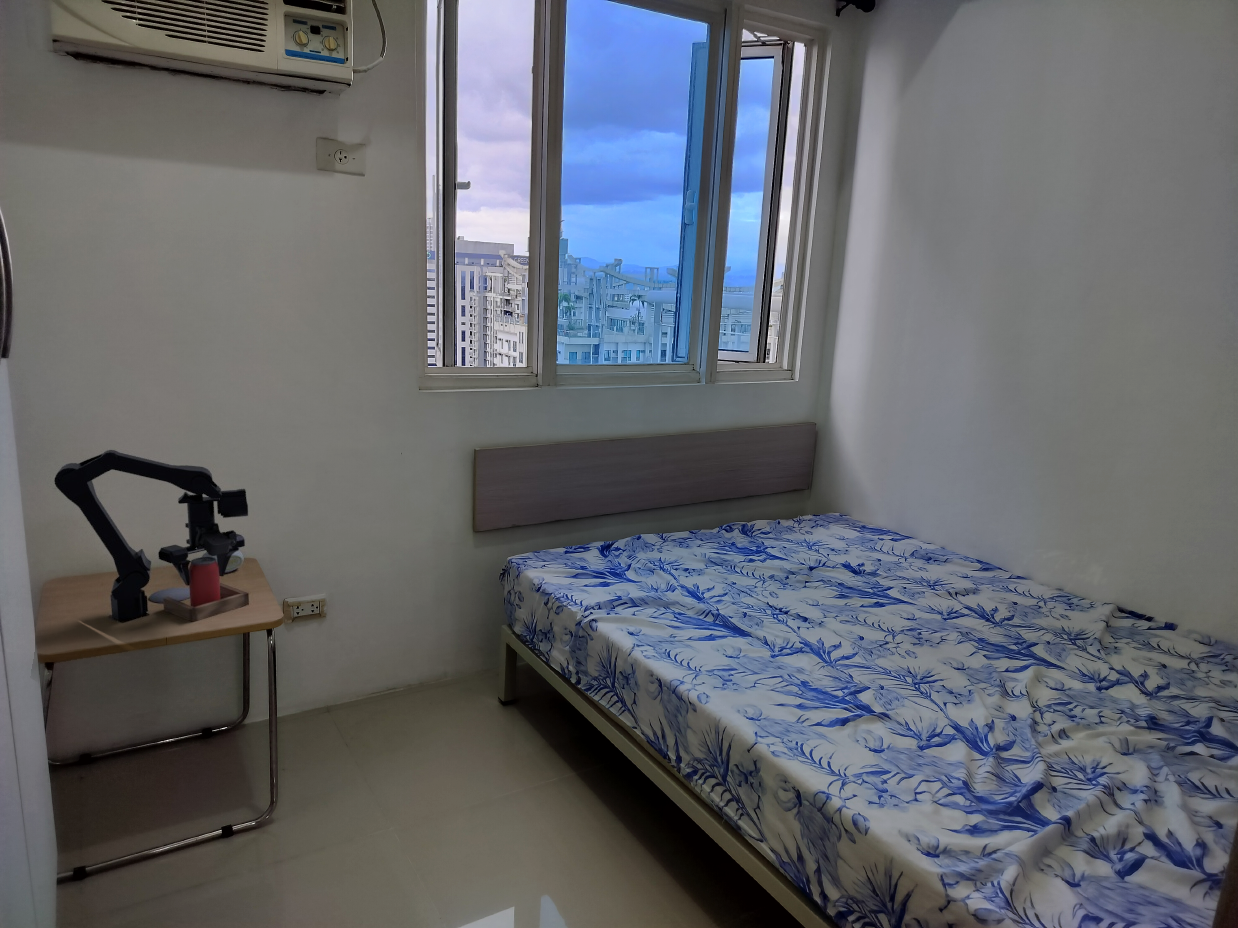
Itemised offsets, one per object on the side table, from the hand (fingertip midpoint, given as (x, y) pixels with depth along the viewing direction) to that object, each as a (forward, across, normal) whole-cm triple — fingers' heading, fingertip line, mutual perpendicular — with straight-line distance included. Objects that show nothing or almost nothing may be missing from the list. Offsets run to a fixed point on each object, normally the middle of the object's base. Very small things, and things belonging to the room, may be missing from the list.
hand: (204, 580), depth 193 cm
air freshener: (+7, +18, +22) cm, 29 cm away
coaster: (+7, -1, +13) cm, 15 cm away
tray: (+7, 0, 0) cm, 7 cm away
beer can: (+7, 0, 0) cm, 7 cm away
